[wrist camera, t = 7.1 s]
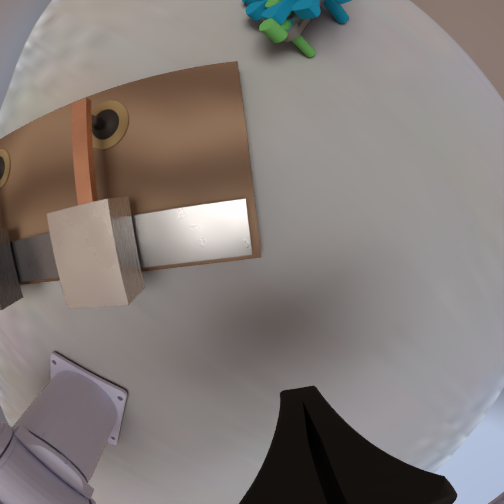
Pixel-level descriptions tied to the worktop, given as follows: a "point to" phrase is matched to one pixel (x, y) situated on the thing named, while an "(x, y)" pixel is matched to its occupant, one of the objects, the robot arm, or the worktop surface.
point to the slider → (94, 232)
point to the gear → (292, 18)
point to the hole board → (137, 153)
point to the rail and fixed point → (139, 243)
